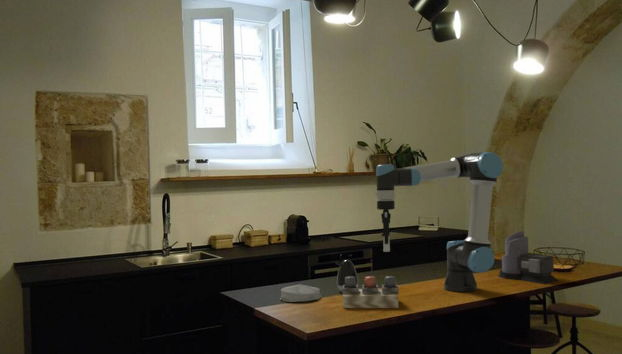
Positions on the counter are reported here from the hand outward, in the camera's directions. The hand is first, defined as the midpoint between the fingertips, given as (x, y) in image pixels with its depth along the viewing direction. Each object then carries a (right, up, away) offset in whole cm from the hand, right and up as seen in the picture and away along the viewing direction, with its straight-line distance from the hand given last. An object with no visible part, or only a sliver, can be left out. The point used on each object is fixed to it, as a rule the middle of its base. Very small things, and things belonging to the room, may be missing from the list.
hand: (386, 249), depth 236 cm
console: (-7, -23, -1) cm, 24 cm away
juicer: (+78, -21, +46) cm, 93 cm away
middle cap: (-7, -16, -1) cm, 17 cm away
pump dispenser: (-15, -24, +26) cm, 38 cm away
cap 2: (+1, -16, -2) cm, 16 cm away
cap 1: (-16, -16, 0) cm, 22 cm away
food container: (-37, -25, +15) cm, 47 cm away
